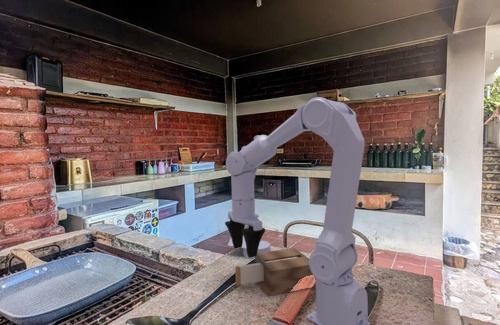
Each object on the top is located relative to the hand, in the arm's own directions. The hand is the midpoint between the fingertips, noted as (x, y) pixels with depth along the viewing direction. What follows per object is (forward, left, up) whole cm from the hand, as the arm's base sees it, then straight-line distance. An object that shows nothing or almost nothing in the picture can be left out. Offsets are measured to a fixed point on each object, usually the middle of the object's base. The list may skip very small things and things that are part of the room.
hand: (244, 251), depth 73 cm
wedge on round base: (+16, -15, -9) cm, 24 cm away
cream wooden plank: (-3, -5, -7) cm, 9 cm away
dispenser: (-5, -9, -9) cm, 13 cm away
